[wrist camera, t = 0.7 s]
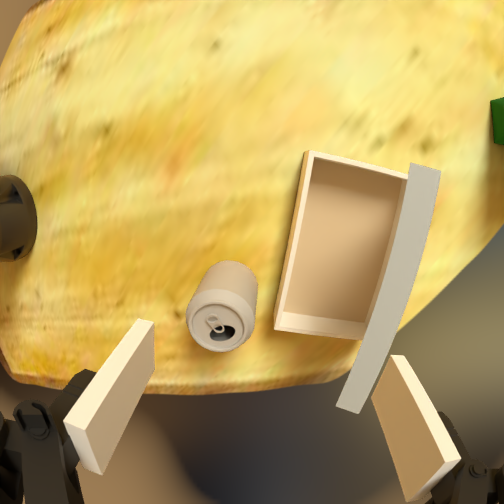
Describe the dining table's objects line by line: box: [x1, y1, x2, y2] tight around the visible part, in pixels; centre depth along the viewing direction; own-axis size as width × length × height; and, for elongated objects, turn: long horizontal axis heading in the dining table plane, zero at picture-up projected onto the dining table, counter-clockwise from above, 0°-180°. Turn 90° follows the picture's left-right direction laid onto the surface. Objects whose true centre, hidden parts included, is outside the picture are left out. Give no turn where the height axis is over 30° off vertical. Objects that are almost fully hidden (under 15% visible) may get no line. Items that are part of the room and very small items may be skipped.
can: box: [186, 260, 258, 352], centre depth 36 cm, size 8×8×12 cm
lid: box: [336, 163, 441, 414], centre depth 28 cm, size 15×22×2 cm
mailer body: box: [274, 150, 408, 340], centre depth 37 cm, size 14×22×5 cm, turn 171°
